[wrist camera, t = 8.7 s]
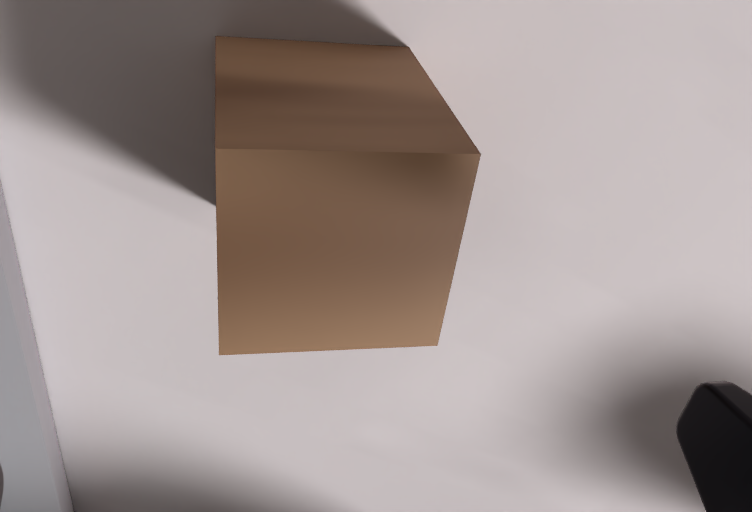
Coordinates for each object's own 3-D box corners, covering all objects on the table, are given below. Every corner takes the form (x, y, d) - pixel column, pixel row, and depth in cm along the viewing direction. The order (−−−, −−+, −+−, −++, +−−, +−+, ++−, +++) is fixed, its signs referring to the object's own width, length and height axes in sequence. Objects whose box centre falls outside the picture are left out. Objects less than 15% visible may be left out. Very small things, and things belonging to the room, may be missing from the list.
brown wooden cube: (384, 206, 17) (437, 345, 13) (218, 206, 16) (218, 354, 12) (408, 45, 14) (480, 153, 10) (215, 35, 14) (215, 148, 10)
